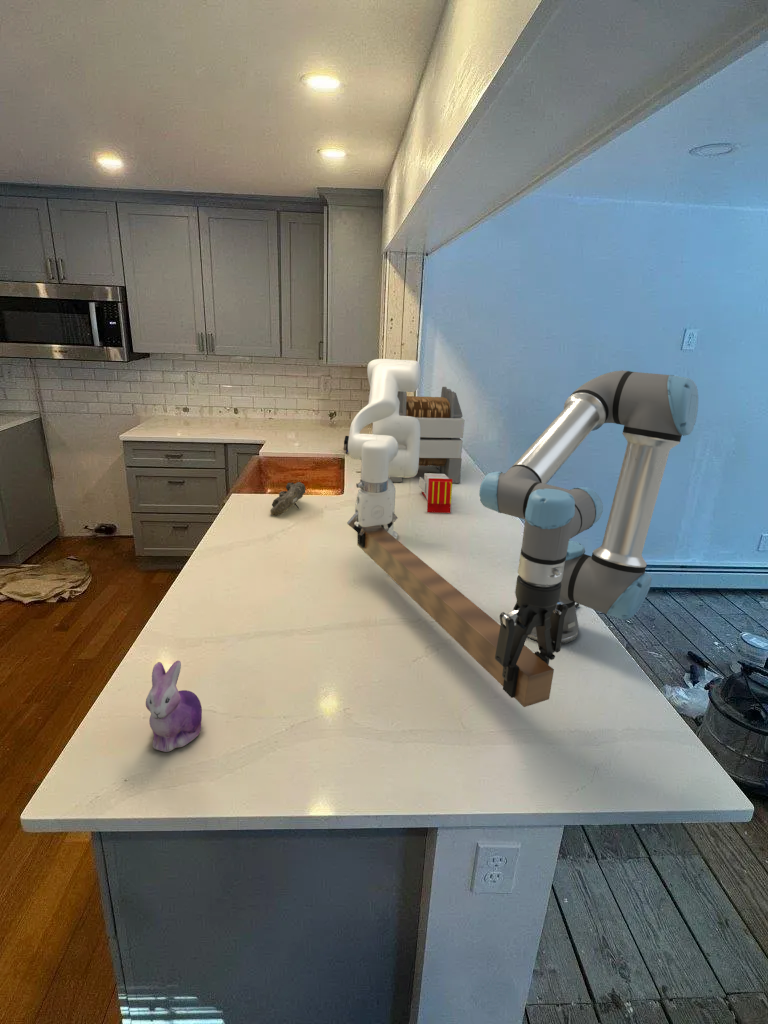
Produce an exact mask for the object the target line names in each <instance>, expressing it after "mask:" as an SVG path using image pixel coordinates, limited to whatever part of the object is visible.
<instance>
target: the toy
mask: <svg viewBox="0 0 768 1024" xmlns="http://www.w3.org/2000/svg"><path fill="white" fill-rule="evenodd" d="M418 488H419V489H420V490H421V494H422V496H424V498H425V499H426V501H427V508H426V513H433V514H434V513H437V514H439V513H440V514H451V509H452V497H453V496H452V495H453V493H452V492H453V483H452V479H449V478H448V477H447V476H446V475H445V474H441V473H430V472H429V473H427V472H424V474H423V477H422V476H419V481H418Z"/></svg>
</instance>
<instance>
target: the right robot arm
mask: <svg viewBox="0 0 768 1024" xmlns="http://www.w3.org/2000/svg"><path fill="white" fill-rule="evenodd" d="M698 411H699V390H698V386H697V384H696V382H695V381H694V380H693V379H692V378H689V377H684V376H680V375H674V374H663V373H662V374H661V373H651V372H650V373H649V372H641V371H639V372H638V371H631V370H622V369H621V370H614V371H610V372H606V373H603V374H600V375H598V376H596V377H594V378H592V379H590V380H588V381H586V382H585V383H583V384H581V385H580V386H579V387H578V388H576V389H575V390H574V391H573V392H572V393H571V394H570V395H569V396H568V397H567V398H566V400H565V402H564V405H563V410H562V411H561V412H560V413H559V414H558V415H557V416H556V417H555V418H554V419H553V421H551V423H550V424H549V425H548V426H547V427H546V428H545V429H544V431H543V432H542V433H541V434H540V435H539V436H538V437H537V438H536V439H535V441H534V442H533V443H531V445H530V446H529V447H528V448H527V449H526V450H525V451H524V453H523V454H522V455H521V456H520V457H519V458H518V459H517V460H516V461H515V463H514V464H512V466H510V467H509V468H508V470H507V471H505V472H502V471H491V472H488V473H487V474H486V475H485V477H483V479H482V481H481V484H480V485H479V494H478V495H479V497H480V498H479V500H480V503H481V505H482V506H483V507H484V508H487V509H488V510H492V511H494V512H497V513H499V514H504V515H506V516H507V515H508V516H510V517H511V516H512V517H513V518H518V519H522V520H524V524H523V525H524V526H523V534H522V543H521V548H520V555H519V561H518V568H517V574H518V575H517V577H516V584H515V589H514V590H515V591H514V595H515V598H516V599H515V600H516V602H515V604H514V606H513V609H512V611H510V612H508V613H506V612H504V611H503V612H500V613H499V624H500V625H501V626H500V631H499V637H498V642H497V648H496V654H495V660H496V661H497V662H499V663H500V664H501V665H502V666H503V673H502V677H503V678H504V683H503V686H502V691H504V692H505V693H506V694H507V695H508V696H509V697H510V699H512V698H514V697H515V693H516V686H517V679H518V672H519V666H517V665H516V663H517V661H518V659H519V656H520V654H521V651H522V649H523V646H524V645H525V643H526V641H527V639H528V638H529V639H531V640H534V641H536V642H537V646H538V651H534V653H535V654H536V655H537V656H538V657H539V658H541V659H542V660H543V661H544V662H545V663H547V664H548V665H549V664H550V661H553V660H554V659H555V658H556V655H555V654H554V653H556V654H558V653H559V652H561V649H562V645H564V644H568V643H571V642H573V641H574V640H576V638H577V637H578V635H579V620H578V614H577V610H576V609H577V608H578V607H579V606H580V605H581V606H584V607H586V608H589V609H592V610H595V611H597V612H599V613H601V614H605V615H606V616H608V617H613V618H616V619H620V620H623V621H627V620H629V619H631V618H632V617H634V616H635V615H636V613H638V611H639V609H640V608H641V606H642V605H643V603H644V602H645V599H646V597H647V595H648V593H649V592H650V589H651V586H652V580H653V578H652V575H651V574H649V572H646V570H647V565H648V563H647V562H646V560H645V558H644V557H643V551H644V547H645V544H646V540H647V537H648V533H649V529H650V525H651V522H652V517H653V515H654V511H655V507H656V503H657V500H658V496H659V492H660V488H661V486H662V485H661V484H662V480H663V477H664V474H665V469H666V465H667V461H668V458H669V455H670V451H671V450H672V449H673V448H675V447H677V446H678V445H680V443H681V440H682V436H683V437H685V436H689V435H691V434H692V432H693V431H694V428H695V426H696V422H697V417H698ZM604 424H615V425H621V426H623V429H622V435H623V437H624V438H625V440H626V446H625V447H626V448H625V451H624V456H623V458H622V464H621V467H620V472H619V476H618V479H617V483H616V487H615V491H614V495H613V499H612V503H611V507H610V511H609V514H608V519H607V523H606V527H605V530H604V535H603V538H602V542H601V545H600V546H599V547H596V548H595V549H593V550H592V554H591V555H589V554H586V547H585V546H584V544H582V543H580V542H578V541H574V540H571V539H573V538H574V537H576V536H578V535H579V534H581V533H583V532H585V531H587V530H590V529H591V528H592V527H593V526H594V524H596V523H597V522H598V521H599V520H600V519H601V518H602V515H603V512H604V504H603V499H602V498H601V496H600V495H599V494H598V493H597V492H596V491H595V490H594V489H592V488H589V487H586V486H579V487H573V488H571V489H567V488H563V487H560V486H557V485H552V484H549V482H550V481H551V480H552V478H553V477H554V476H555V475H556V473H557V472H558V471H559V470H560V469H561V467H562V466H563V465H564V464H565V462H567V460H568V459H569V458H570V457H571V456H572V455H573V453H574V452H576V450H577V449H578V448H579V447H580V445H581V444H582V442H583V441H584V440H585V439H586V438H587V437H588V436H589V434H591V432H593V431H596V430H599V429H600V428H602V426H603V425H604ZM549 666H550V665H549Z"/></svg>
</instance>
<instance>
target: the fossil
mask: <svg viewBox="0 0 768 1024" xmlns="http://www.w3.org/2000/svg"><path fill="white" fill-rule="evenodd" d="M285 489H286V490H283V491H282V490H281V491H280V492H278V496H277V497H276V498H275V499H274V500H273V501H272V503H271V506H272V508H270V514H271V515H270V516H274V517H278V516H281V515H283V514H285V513H286V512H287V511H289V510H290V509H291V508H292V507H294V506H295V507H296V508H297V509H299V510H300V507H299V506H298V504H297V503H298V501H299V500H301V499H302V498H303V496H304V495H305V494H306V492H307V491H306V486H305V484H304V483H302V482H301V481H297V482H296V483H294V482H293V481H292V482H287V483H286V485H285Z"/></svg>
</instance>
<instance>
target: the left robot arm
mask: <svg viewBox="0 0 768 1024" xmlns="http://www.w3.org/2000/svg"><path fill="white" fill-rule="evenodd" d="M366 371H367V372H366V373H367V380H368V385H369V395H368V403H367V405H365V406H364V407H362V408H361V409H360V410H359V411H358V412H357V413H356V415H355V416H354V417H353V419H352V421H351V424H350V427H349V433H348V436H349V439H348V452H347V454H348V456H349V457H350V458H351V459H353V460H356V461H361V463H360V464H361V466H360V479H359V482H357V483H356V485H355V487H356V488H357V489H358V491H357V495H356V500H355V506H354V514H353V515H352V516H351V517H350V518H349V520H348V521H347V522H346V523H347V525H348V526H349V527H350V528H351V529H352V530H354V531H355V532H356V533H357V535H358V544H359V545H360V546H361V547H362V548H364V547H365V535H364V531H365V529H366V527H371V526H378V525H380V526H381V527H382V528H383V529H385V530H386V531H387V532H388V533H389V534H391V535H392V536H393V537H394V538H395V539H397V540H398V537H399V534H398V532H397V531H396V530H395V528H394V527H395V522H396V521H397V520H398V518H399V517H398V516H397V515H396V514H395V510H396V509H395V508H396V507H395V506H396V491H397V490H396V486H395V484H394V482H392V481H391V480H390V478H389V477H402V478H404V479H405V478H407V479H408V478H409V479H410V478H414V477H416V476H417V474H418V471H419V467H420V466H419V450H420V423H419V421H418V419H417V418H415V417H411V416H400V415H399V405H400V402H399V399H398V397H397V395H398V391H401V392H406V393H414V392H416V391H418V388H419V386H420V382H421V377H422V369H421V365H420V362H419V361H418V360H413V359H397V358H375V359H373V360H371V361H369V362H368V364H367V370H366ZM370 424H372V431H371V432H372V433H361V431H362V430H363V429H364V428H365V427H366V426H369V425H370ZM398 444H399V445H404V446H406V449H403V448H398Z"/></svg>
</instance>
